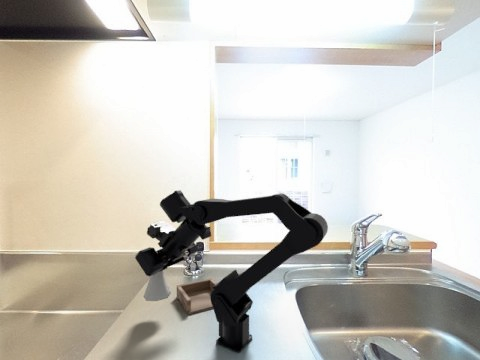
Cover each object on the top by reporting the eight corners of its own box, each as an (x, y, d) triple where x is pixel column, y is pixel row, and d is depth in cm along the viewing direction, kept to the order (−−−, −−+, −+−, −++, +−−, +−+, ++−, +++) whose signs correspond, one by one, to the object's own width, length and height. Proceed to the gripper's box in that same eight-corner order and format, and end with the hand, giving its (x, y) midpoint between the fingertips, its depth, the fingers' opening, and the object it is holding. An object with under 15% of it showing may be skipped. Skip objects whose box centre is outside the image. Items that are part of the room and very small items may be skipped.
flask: (142, 304, 67) (141, 265, 67) (144, 291, 74) (144, 257, 74) (171, 300, 69) (170, 263, 69) (170, 288, 76) (170, 254, 76)
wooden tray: (227, 304, 78) (227, 292, 78) (188, 314, 73) (188, 302, 72) (211, 288, 89) (211, 278, 89) (176, 296, 83) (176, 285, 83)
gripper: (188, 208, 78) (160, 240, 83) (140, 218, 61) (109, 258, 66) (211, 237, 75) (181, 268, 80) (166, 255, 58) (131, 294, 63)
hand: (153, 271), depth 72 cm, fingers closed on flask, 3 cm apart
